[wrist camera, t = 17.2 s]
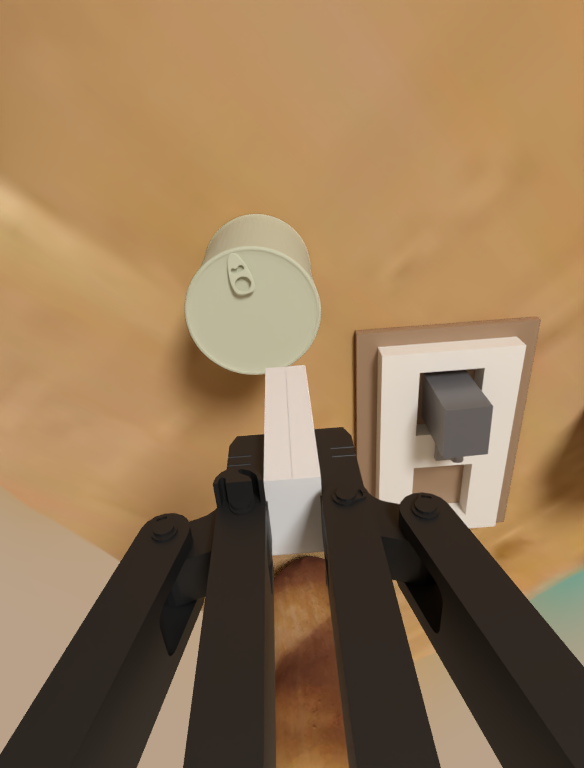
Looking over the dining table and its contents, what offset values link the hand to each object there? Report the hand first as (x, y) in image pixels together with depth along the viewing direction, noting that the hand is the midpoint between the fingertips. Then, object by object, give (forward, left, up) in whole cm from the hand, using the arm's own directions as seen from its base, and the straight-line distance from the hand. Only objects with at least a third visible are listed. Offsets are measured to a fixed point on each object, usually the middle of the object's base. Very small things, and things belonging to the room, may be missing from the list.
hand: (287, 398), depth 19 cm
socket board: (+15, -21, -26) cm, 37 cm away
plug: (+15, -16, -25) cm, 33 cm away
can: (-2, -2, -27) cm, 27 cm away
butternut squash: (+1, -41, -27) cm, 49 cm away
